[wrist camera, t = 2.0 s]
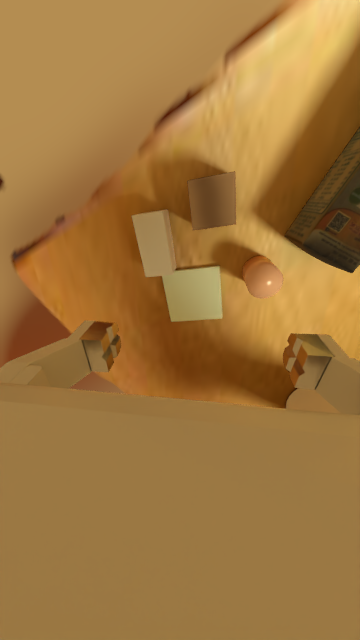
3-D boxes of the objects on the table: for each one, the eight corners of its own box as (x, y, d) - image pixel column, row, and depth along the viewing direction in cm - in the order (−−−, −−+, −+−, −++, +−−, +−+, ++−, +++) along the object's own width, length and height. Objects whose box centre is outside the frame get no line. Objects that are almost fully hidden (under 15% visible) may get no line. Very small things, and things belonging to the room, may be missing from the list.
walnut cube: (231, 175, 25) (235, 171, 21) (232, 219, 28) (236, 224, 24) (190, 182, 26) (187, 180, 22) (195, 225, 29) (192, 230, 25)
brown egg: (274, 254, 30) (284, 264, 25) (271, 283, 32) (281, 296, 27) (242, 257, 30) (247, 268, 26) (242, 285, 32) (247, 299, 28)
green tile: (219, 265, 31) (219, 266, 31) (222, 316, 36) (222, 318, 35) (162, 271, 33) (161, 273, 32) (171, 320, 37) (171, 321, 37)
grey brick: (140, 213, 29) (131, 215, 26) (168, 208, 28) (162, 210, 25) (152, 268, 33) (145, 277, 30) (176, 266, 32) (172, 274, 29)
